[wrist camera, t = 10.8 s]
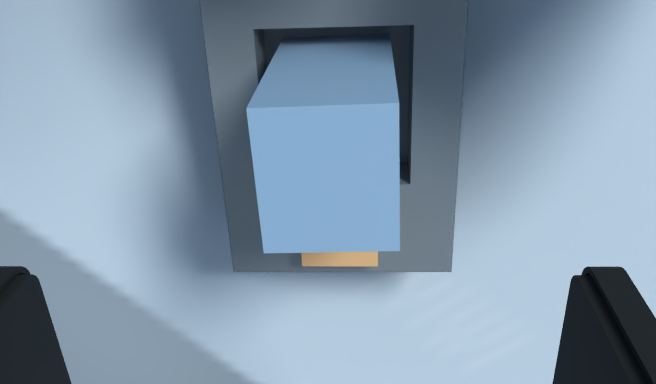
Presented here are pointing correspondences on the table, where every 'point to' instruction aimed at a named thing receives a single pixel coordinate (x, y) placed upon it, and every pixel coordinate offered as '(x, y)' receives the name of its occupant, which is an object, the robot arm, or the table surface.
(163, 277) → the table surface
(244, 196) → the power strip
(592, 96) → the table surface
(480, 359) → the table surface
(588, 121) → the table surface
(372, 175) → the block
